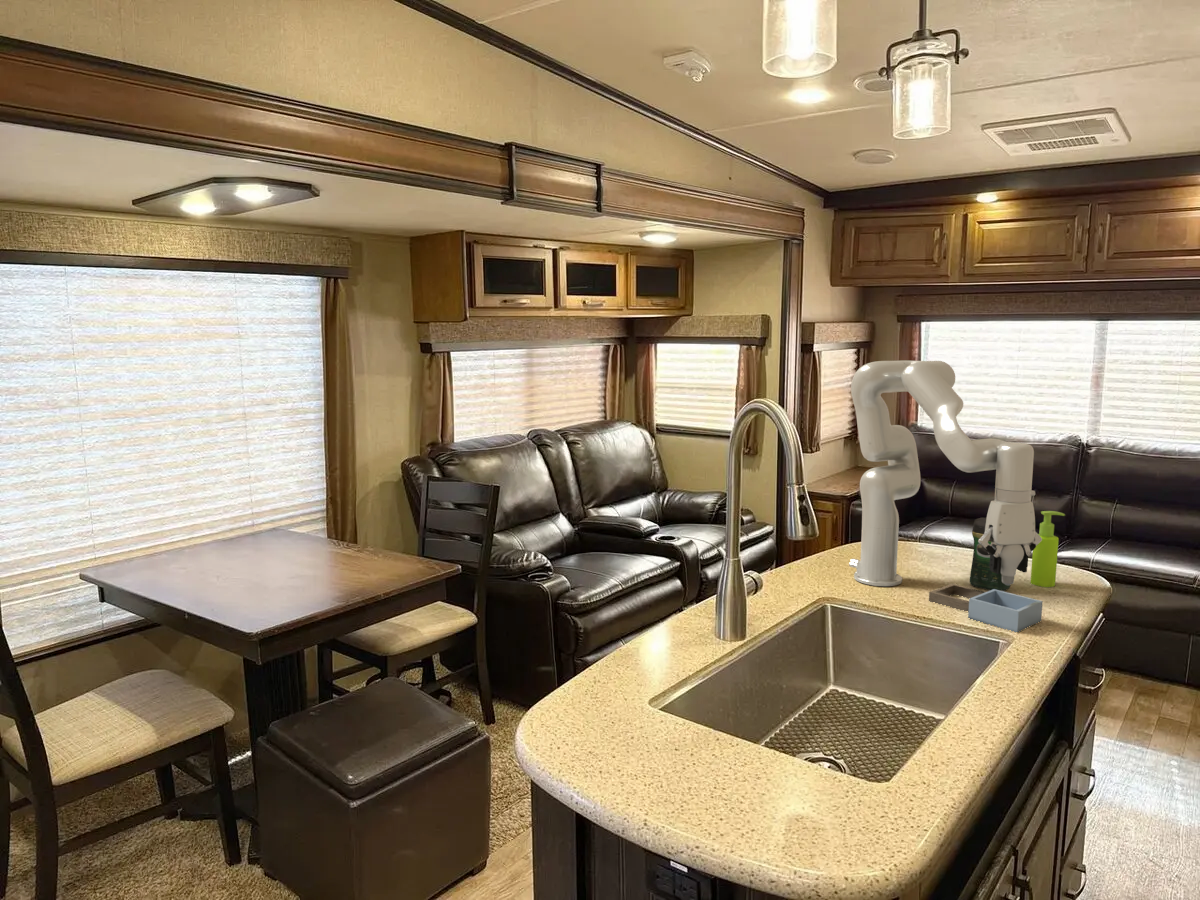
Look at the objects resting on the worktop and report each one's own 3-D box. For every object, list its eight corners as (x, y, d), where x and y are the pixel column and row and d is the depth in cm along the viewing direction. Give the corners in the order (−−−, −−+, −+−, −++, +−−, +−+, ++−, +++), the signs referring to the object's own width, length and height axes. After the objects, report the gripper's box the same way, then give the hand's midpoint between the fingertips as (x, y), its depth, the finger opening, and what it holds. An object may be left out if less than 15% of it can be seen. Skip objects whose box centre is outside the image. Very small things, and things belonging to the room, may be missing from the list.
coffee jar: (1014, 588, 217) (1019, 520, 215) (1001, 594, 212) (1005, 524, 210) (978, 579, 225) (982, 513, 222) (964, 585, 220) (968, 518, 217)
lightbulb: (993, 580, 196) (995, 535, 195) (1021, 583, 194) (1024, 538, 192) (993, 587, 191) (995, 541, 189) (1022, 590, 188) (1025, 544, 187)
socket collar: (928, 601, 207) (929, 591, 207) (951, 592, 214) (952, 583, 213) (970, 613, 199) (971, 603, 198) (993, 603, 205) (994, 594, 205)
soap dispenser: (1062, 588, 217) (1068, 514, 214) (1034, 586, 218) (1039, 513, 216) (1054, 581, 223) (1060, 509, 220) (1027, 580, 224) (1032, 508, 221)
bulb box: (968, 618, 195) (969, 598, 194) (992, 608, 202) (993, 589, 201) (1017, 632, 186) (1018, 611, 185) (1041, 621, 192) (1042, 601, 192)
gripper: (1036, 491, 194) (1031, 565, 196) (968, 494, 192) (964, 568, 194) (1058, 498, 187) (1052, 574, 189) (987, 500, 184) (983, 578, 187)
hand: (1008, 570), depth 192 cm, fingers closed on lightbulb, 5 cm apart
